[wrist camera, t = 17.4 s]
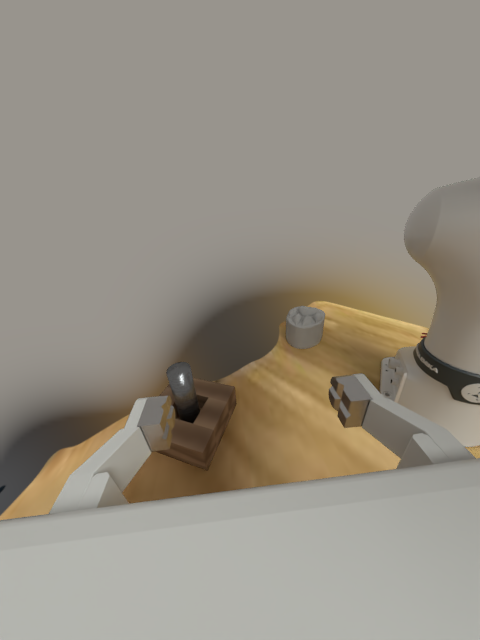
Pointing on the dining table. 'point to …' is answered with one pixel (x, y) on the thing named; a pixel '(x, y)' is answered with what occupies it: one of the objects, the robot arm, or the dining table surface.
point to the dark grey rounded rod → (183, 391)
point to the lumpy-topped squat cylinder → (304, 327)
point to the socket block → (201, 424)
